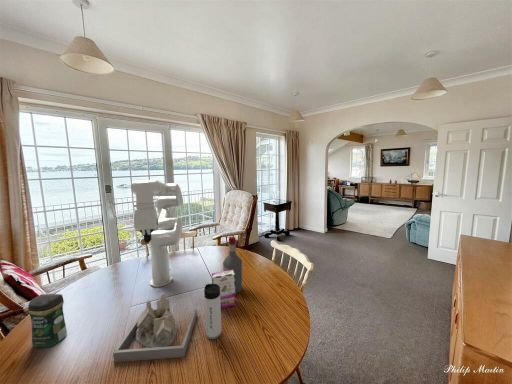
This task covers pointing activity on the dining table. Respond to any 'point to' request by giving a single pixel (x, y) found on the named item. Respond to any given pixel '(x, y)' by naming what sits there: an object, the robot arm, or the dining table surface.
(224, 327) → the dining table surface
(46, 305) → the coffee jar
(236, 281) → the liquor
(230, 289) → the candy bar box
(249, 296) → the dining table surface
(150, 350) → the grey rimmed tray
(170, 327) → the ceramic cottage
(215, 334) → the travel mug
